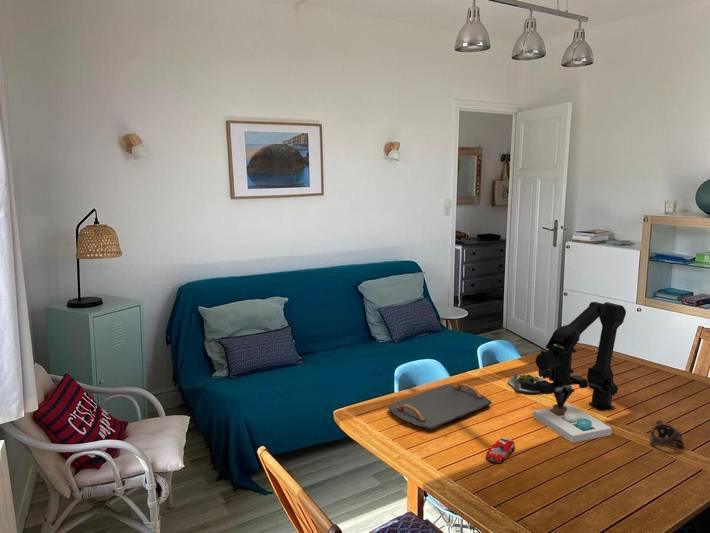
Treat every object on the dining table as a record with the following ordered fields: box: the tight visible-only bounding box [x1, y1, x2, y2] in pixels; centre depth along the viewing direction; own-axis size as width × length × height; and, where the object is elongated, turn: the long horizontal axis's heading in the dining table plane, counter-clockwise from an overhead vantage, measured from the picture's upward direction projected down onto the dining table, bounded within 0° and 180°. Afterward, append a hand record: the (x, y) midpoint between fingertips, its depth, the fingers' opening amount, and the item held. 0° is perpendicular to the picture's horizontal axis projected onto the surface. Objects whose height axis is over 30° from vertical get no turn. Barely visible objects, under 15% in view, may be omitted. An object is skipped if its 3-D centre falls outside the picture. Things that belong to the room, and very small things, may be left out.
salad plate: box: [507, 373, 547, 396], centre depth 221 cm, size 19×18×5 cm
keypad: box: [532, 403, 613, 444], centre depth 185 cm, size 16×20×2 cm
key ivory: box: [564, 411, 579, 423], centre depth 185 cm, size 5×5×3 cm
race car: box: [485, 437, 516, 464], centre depth 166 cm, size 13×5×4 cm, turn 140°
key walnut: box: [552, 403, 567, 416], centre depth 190 cm, size 5×5×3 cm
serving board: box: [387, 383, 493, 433], centre depth 198 cm, size 39×23×6 cm, turn 128°
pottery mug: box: [649, 420, 685, 449], centre depth 172 cm, size 12×10×8 cm
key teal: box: [576, 418, 592, 431], centre depth 179 cm, size 5×5×3 cm
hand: (560, 407), depth 190 cm, fingers closed, pressing on key walnut
